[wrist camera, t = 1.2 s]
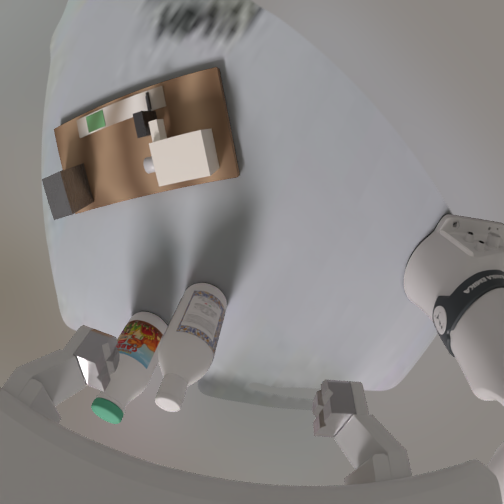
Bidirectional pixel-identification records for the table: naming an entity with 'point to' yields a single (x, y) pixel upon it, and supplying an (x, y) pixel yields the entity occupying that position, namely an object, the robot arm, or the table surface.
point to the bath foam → (189, 343)
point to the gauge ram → (180, 155)
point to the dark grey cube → (68, 191)
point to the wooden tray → (137, 149)
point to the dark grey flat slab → (144, 120)
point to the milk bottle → (131, 365)
